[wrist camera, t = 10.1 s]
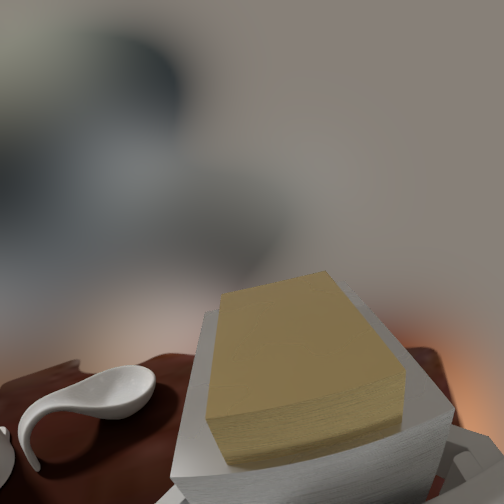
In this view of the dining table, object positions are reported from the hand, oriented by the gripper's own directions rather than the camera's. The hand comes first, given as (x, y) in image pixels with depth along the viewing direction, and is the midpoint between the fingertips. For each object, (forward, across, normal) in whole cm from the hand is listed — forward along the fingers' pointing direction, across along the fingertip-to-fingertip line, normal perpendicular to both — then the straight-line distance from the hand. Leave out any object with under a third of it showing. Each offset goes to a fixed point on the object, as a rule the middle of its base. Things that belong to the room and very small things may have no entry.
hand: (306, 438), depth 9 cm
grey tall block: (-1, 0, +6) cm, 6 cm away
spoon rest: (+21, +27, +18) cm, 38 cm away
